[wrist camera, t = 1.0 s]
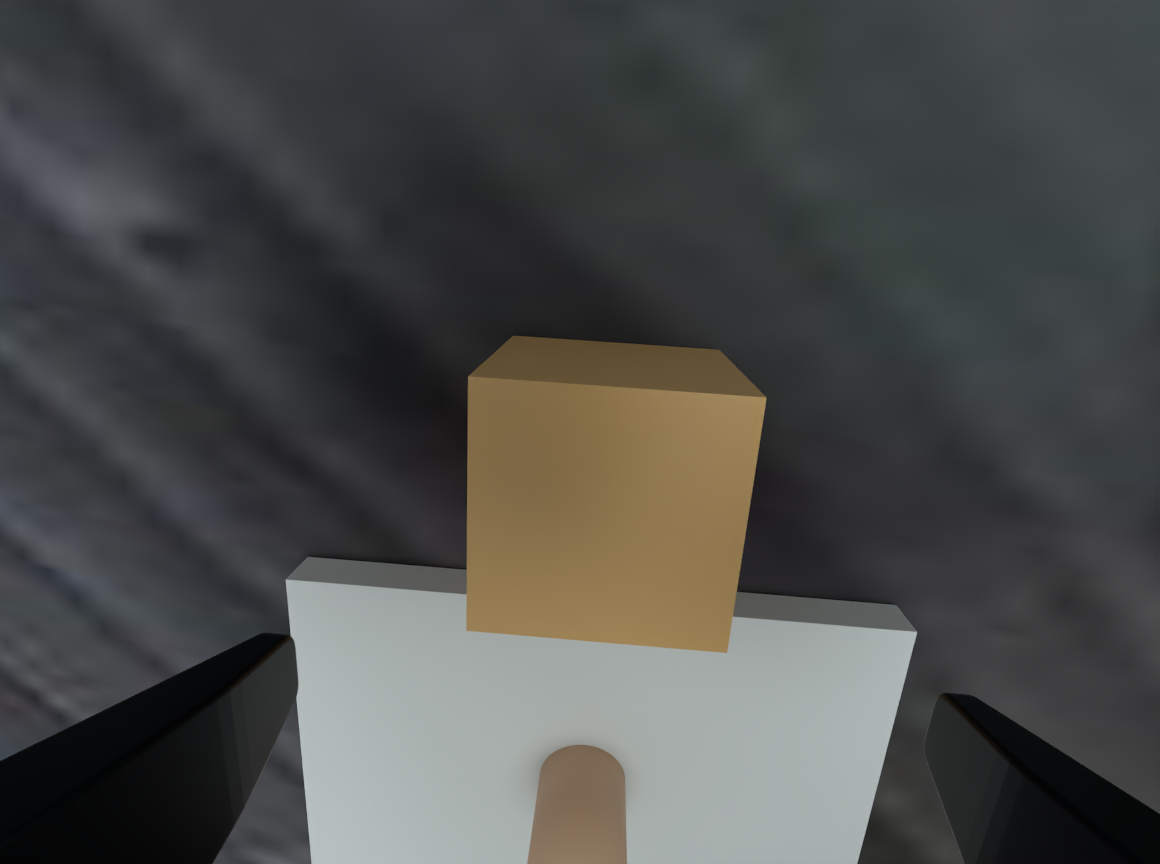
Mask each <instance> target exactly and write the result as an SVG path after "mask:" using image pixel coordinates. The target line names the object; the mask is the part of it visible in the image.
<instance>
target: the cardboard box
mask: <svg viewBox="0 0 1160 864" xmlns="http://www.w3.org/2000/svg"><path fill="white" fill-rule="evenodd" d="M766 398H767V397H766V396H765V395H764V394H763V393H762V392H761V391H760V390H759V389H758V388H757V387H756V386H755V385H754V384H753V383H752V382H751V381H750V380H749V379H748V378H747V377H746V376H745V375H744V374H743V373H742V372H741V371H740V370H739V369H738V368H737V367H736V366H735V365H734V364H733V363H732V362H731V361H730V360H729V359H728V358H727V357H726V356H725V355H724V354H723V353H722V352H721V351H720V350H716V349H702V348H687V347H673V346H658V345H644V344H629V343H614V342H600V341H585V340H571V339H556V338H542V337H527V336H512V337H511V338H510V339H509V340H508V341H507V342H506V343H504V344H503V345H502V346H501V347H500V348H499V349H498V350H497V351H496V352H495V353H493V354H492V355H491V356H490V357H489V358H488V359H487V360H486V361H485V362H483V363H482V364H481V365H480V366H479V367H478V368H477V369H476V370H475V371H473V372H472V373H471V374H470V375H469V376H468V460H467V609H466V631H474V632H486V633H498V634H510V635H521V636H533V637H545V638H556V639H568V640H580V641H592V642H603V643H615V644H627V645H639V646H650V647H662V648H674V649H685V650H697V651H709V652H721V653H727V651H728V645H729V638H730V632H731V625H732V619H733V612H734V606H735V599H736V593H737V586H738V580H739V573H740V567H741V560H742V554H743V547H744V541H745V534H746V528H747V522H748V515H749V509H750V502H751V496H752V489H753V483H754V476H755V470H756V463H757V457H758V450H759V444H760V437H761V431H762V424H763V418H764V411H765V405H766Z"/></svg>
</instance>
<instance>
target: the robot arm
mask: <svg viewBox="0 0 1160 864" xmlns="http://www.w3.org/2000/svg"><path fill="white" fill-rule="evenodd" d="M298 685H299V683H298V670H297V658H296V647H295V642H294V639H293V638H292V637H291V636H290V635H285V634H274V633H262V634H259V635H257V636H255V637H253V638H251V639H249V640H247V641H245V642H243V643H241V644H238V645H236V646H234V647H232V648H230V649H228V650H226V651H224V652H222V653H220V654H218V655H216V656H214V657H212V658H210V659H208V660H206V661H204V662H202V663H200V664H198V665H196V666H193V667H191V668H189V669H187V670H185V671H183V672H181V673H179V674H177V675H175V676H173V677H171V678H169V679H167V680H165V681H163V682H161V683H159V684H157V685H155V686H153V687H151V688H149V689H146V690H144V691H142V692H140V693H138V694H136V695H134V696H132V697H130V698H128V699H126V700H124V701H122V702H120V703H118V704H116V705H114V706H112V707H110V708H108V709H106V710H104V711H101V712H99V713H97V714H95V715H93V716H91V717H89V718H87V719H85V720H83V721H81V722H79V723H77V724H75V725H73V726H71V727H69V728H67V729H65V730H63V731H61V732H59V733H56V734H54V735H52V736H50V737H48V738H46V739H44V740H42V741H40V742H38V743H36V744H34V745H32V746H30V747H28V748H26V749H24V750H22V751H20V752H18V753H16V754H14V755H12V756H9V757H7V758H5V759H3V760H1V761H0V864H212V863H213V862H214V860H215V858H216V857H217V855H218V853H219V852H220V850H221V848H222V846H223V845H224V843H225V841H226V840H227V838H228V836H229V835H230V833H231V831H232V829H233V828H234V826H235V824H236V822H237V821H238V819H239V817H240V815H241V814H242V812H243V810H244V808H245V806H246V804H247V802H248V800H249V798H250V796H251V794H252V792H253V790H254V788H255V786H256V784H257V782H258V780H259V777H260V775H261V773H262V771H263V769H264V767H265V765H266V762H267V760H268V758H269V756H270V754H271V752H272V750H273V747H274V745H275V743H276V741H277V739H278V737H279V735H280V732H281V730H282V728H283V726H284V724H285V722H286V719H287V717H288V715H289V713H290V711H291V709H292V707H293V704H294V702H295V700H296V697H297V693H298ZM924 754H925V758H926V762H927V765H928V767H929V770H930V773H931V776H932V778H933V781H934V784H935V786H936V789H937V792H938V795H939V797H940V800H941V803H942V805H943V808H944V811H945V814H946V816H947V819H948V822H949V825H950V827H951V830H952V833H953V835H954V838H955V841H956V844H957V846H958V849H959V852H960V854H961V857H962V860H963V862H964V864H1160V814H1159V813H1157V812H1156V811H1154V810H1153V809H1151V808H1150V807H1148V806H1146V805H1145V804H1143V803H1142V802H1140V801H1139V800H1137V799H1135V798H1134V797H1132V796H1131V795H1129V794H1128V793H1126V792H1124V791H1123V790H1121V789H1120V788H1118V787H1116V786H1115V785H1113V784H1112V783H1110V782H1109V781H1107V780H1105V779H1104V778H1102V777H1101V776H1099V775H1098V774H1096V773H1094V772H1093V771H1091V770H1090V769H1088V768H1087V767H1085V766H1083V765H1082V764H1080V763H1079V762H1077V761H1075V760H1074V759H1072V758H1071V757H1069V756H1068V755H1066V754H1064V753H1063V752H1061V751H1060V750H1058V749H1057V748H1055V747H1053V746H1052V745H1050V744H1049V743H1047V742H1046V741H1044V740H1042V739H1041V738H1039V737H1038V736H1036V735H1035V734H1033V733H1031V732H1030V731H1028V730H1027V729H1025V728H1023V727H1022V726H1020V725H1019V724H1017V723H1016V722H1014V721H1012V720H1011V719H1009V718H1008V717H1006V716H1005V715H1003V714H1001V713H1000V712H998V711H997V710H995V709H994V708H992V707H990V706H989V705H987V704H986V703H984V702H982V701H981V700H979V699H978V698H976V697H974V696H971V695H964V694H953V693H943V694H940V695H939V696H938V697H937V698H936V701H935V703H934V707H933V710H932V714H931V717H930V721H929V725H928V728H927V732H926V735H925V739H924Z"/></svg>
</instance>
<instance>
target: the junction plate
mask: <svg viewBox="0 0 1160 864" xmlns="http://www.w3.org/2000/svg"><path fill="white" fill-rule="evenodd" d="M286 588H287V599H288V610H289V621H290V632H291V637H292V638H293V639H294V642H295V647H296V658H297V670H298V683H299V685H298V693H297V708H298V719H299V730H300V741H301V752H302V763H303V774H304V785H305V795H306V806H307V817H308V828H309V839H310V850H311V861H312V864H857V862H858V859H859V855H860V851H861V847H862V843H863V839H864V835H865V832H866V828H867V824H868V820H869V816H870V812H871V808H872V805H873V801H874V797H875V793H876V789H877V785H878V781H879V778H880V774H881V770H882V766H883V762H884V758H885V754H886V750H887V747H888V743H889V739H890V735H891V731H892V727H893V723H894V720H895V716H896V712H897V708H898V704H899V700H900V696H901V693H902V689H903V685H904V681H905V677H906V673H907V669H908V666H909V662H910V658H911V654H912V650H913V646H914V642H915V638H916V635H917V631H916V630H915V629H914V627H913V626H912V625H911V623H910V622H909V621H908V620H907V618H906V617H905V616H904V614H903V613H902V612H901V611H900V609H899V608H898V607H897V605H891V604H879V603H866V602H854V601H842V600H830V599H818V598H805V597H793V596H781V595H769V594H756V593H744V592H737V593H736V599H735V606H734V612H733V619H732V625H731V632H730V638H729V645H728V651H727V653H721V652H709V651H697V650H685V649H674V648H662V647H650V646H639V645H627V644H615V643H603V642H592V641H580V640H568V639H556V638H545V637H533V636H521V635H510V634H498V633H486V632H474V631H466V609H467V570H463V569H451V568H439V567H427V566H414V565H402V564H390V563H378V562H366V561H353V560H341V559H329V558H317V557H307V558H306V559H305V560H304V561H303V562H302V563H301V564H300V565H299V566H298V567H297V568H296V569H295V570H294V571H293V573H292V574H291V575H290V576H289V577H288V578H287V579H286Z"/></svg>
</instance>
